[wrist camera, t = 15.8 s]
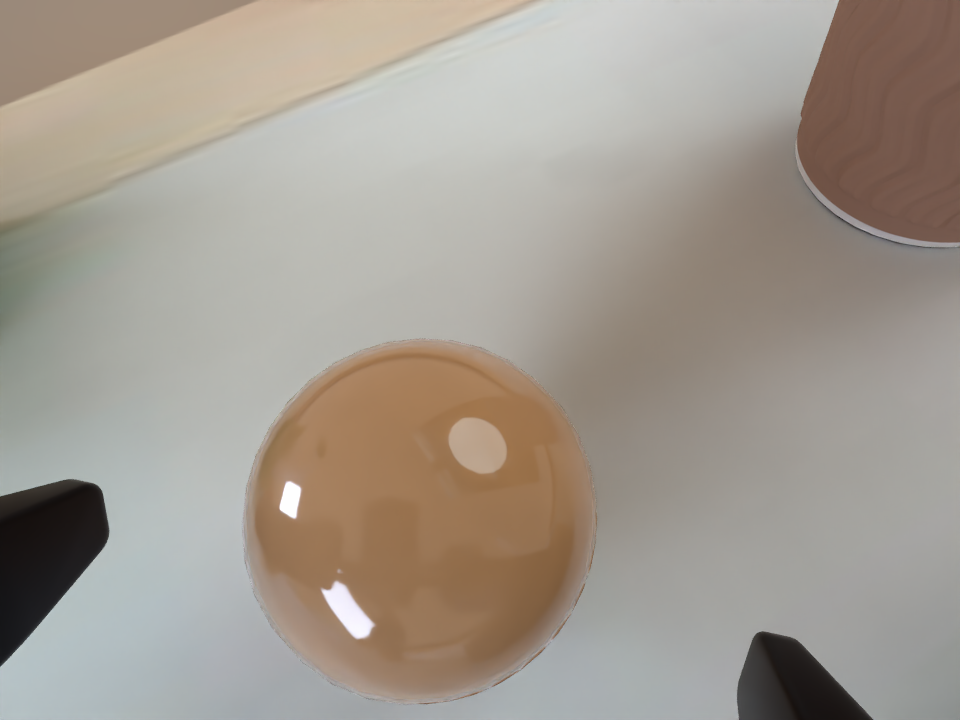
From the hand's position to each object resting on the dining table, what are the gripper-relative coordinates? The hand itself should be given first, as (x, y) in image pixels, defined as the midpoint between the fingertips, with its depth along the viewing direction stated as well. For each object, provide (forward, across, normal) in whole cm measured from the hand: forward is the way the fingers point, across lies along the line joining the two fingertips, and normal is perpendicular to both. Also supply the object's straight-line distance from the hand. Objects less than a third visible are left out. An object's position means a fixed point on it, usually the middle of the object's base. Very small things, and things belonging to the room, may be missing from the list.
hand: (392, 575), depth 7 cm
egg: (+6, 0, +4) cm, 7 cm away
